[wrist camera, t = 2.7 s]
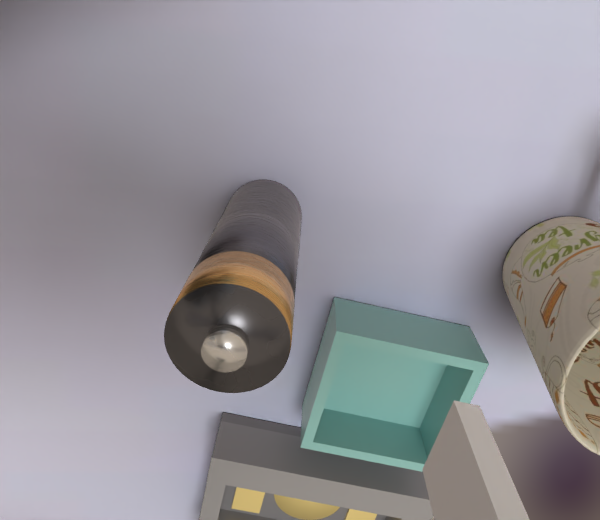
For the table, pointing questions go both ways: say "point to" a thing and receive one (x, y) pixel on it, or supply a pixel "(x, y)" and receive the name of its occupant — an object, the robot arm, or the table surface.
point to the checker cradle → (302, 480)
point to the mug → (562, 315)
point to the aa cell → (240, 294)
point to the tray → (387, 383)
